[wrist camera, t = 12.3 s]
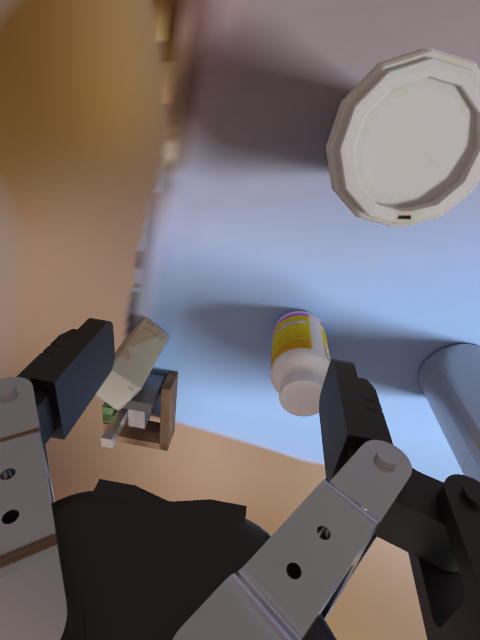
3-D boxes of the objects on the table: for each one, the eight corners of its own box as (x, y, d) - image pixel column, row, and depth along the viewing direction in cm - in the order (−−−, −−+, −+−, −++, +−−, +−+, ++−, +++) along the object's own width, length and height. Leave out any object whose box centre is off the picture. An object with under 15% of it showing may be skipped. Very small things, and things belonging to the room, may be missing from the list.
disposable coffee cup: (318, 71, 33) (339, 43, 20) (442, 68, 32) (547, 36, 19) (309, 192, 39) (320, 232, 26) (415, 193, 37) (484, 235, 24)
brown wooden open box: (177, 371, 52) (168, 394, 48) (174, 430, 58) (165, 455, 54) (114, 360, 53) (100, 381, 48) (117, 420, 59) (104, 443, 54)
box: (145, 315, 48) (110, 365, 39) (171, 335, 49) (143, 388, 40) (124, 338, 51) (86, 391, 41) (149, 357, 52) (117, 412, 42)
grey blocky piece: (164, 375, 52) (144, 418, 45) (163, 412, 56) (144, 457, 49) (125, 368, 52) (98, 409, 45) (126, 406, 56) (102, 449, 49)
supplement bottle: (262, 335, 48) (255, 402, 37) (294, 299, 45) (296, 360, 34) (302, 361, 49) (307, 433, 38) (336, 328, 46) (352, 395, 35)
